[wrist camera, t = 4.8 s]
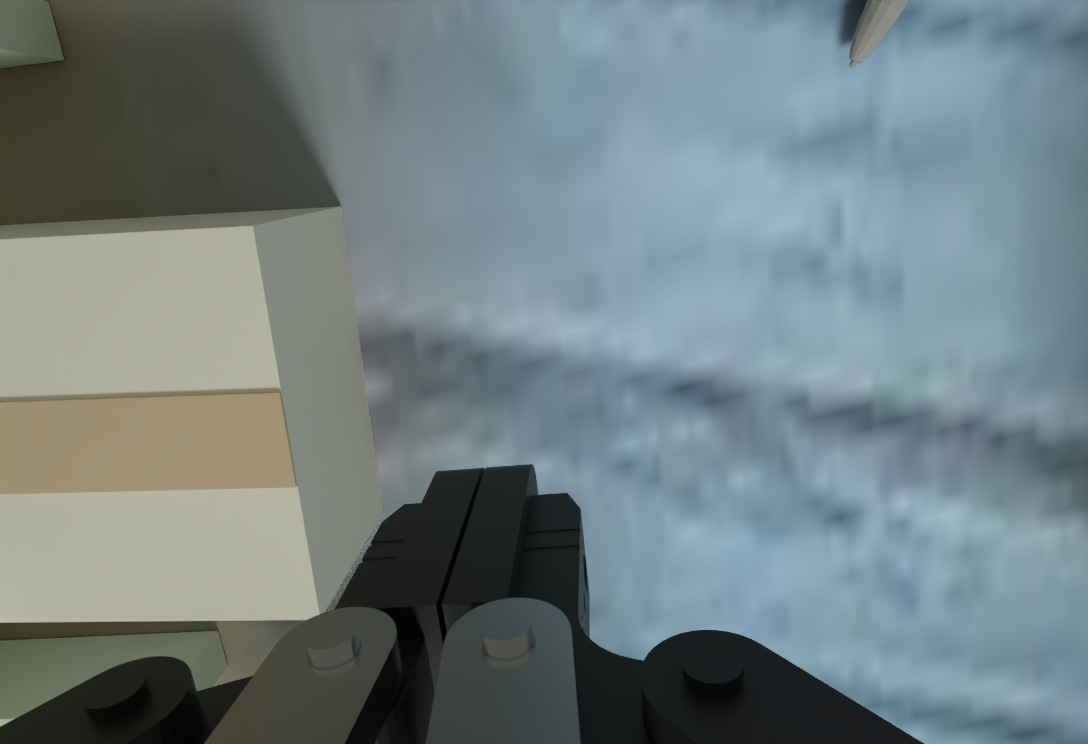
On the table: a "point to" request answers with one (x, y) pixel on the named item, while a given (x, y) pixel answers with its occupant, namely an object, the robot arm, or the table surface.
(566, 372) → the table surface
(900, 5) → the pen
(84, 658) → the display stand
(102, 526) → the carton
